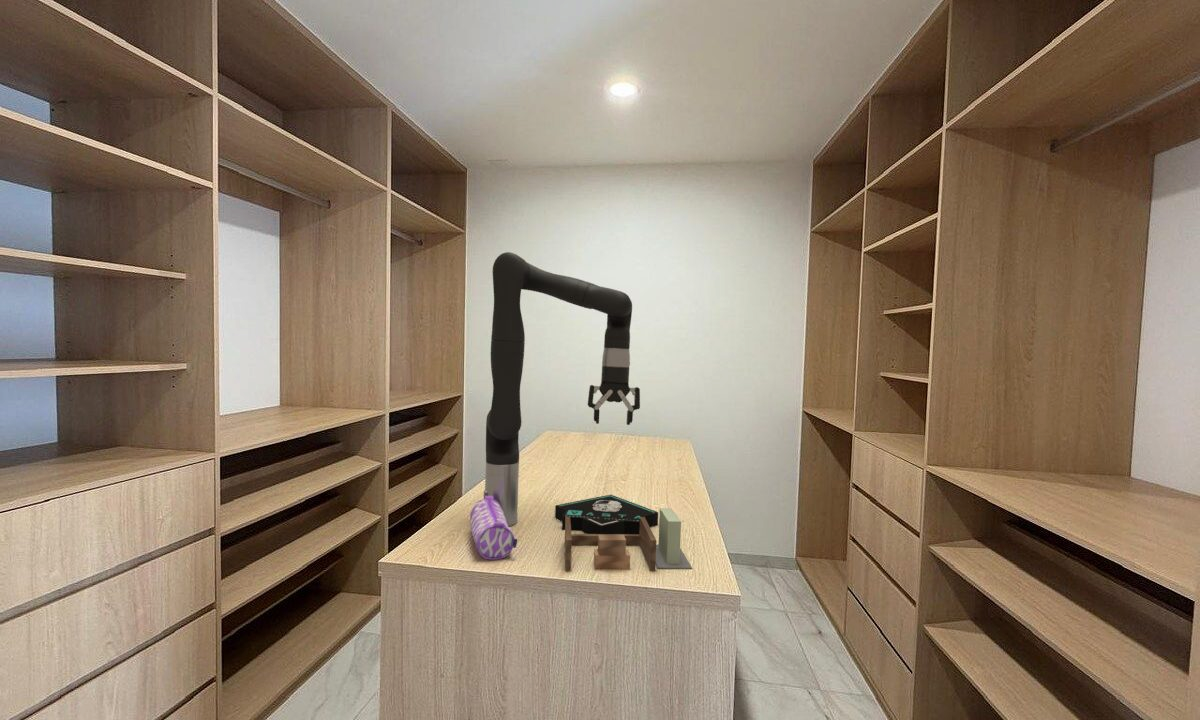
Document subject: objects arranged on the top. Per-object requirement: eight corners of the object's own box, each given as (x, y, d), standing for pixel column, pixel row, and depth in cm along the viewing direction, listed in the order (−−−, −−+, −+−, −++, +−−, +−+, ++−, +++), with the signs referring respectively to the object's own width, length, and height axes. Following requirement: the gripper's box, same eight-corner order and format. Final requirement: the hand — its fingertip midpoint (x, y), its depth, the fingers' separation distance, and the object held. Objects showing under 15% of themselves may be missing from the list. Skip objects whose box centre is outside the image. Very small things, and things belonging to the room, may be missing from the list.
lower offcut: (594, 570, 118) (595, 555, 118) (593, 564, 121) (594, 549, 121) (629, 570, 118) (630, 555, 118) (627, 564, 122) (628, 549, 122)
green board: (658, 547, 131) (659, 508, 131) (670, 547, 132) (671, 508, 131) (666, 563, 121) (668, 521, 121) (679, 563, 122) (681, 521, 121)
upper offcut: (599, 555, 118) (599, 540, 117) (597, 549, 121) (598, 534, 121) (625, 555, 118) (626, 540, 118) (623, 549, 122) (623, 534, 122)
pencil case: (517, 560, 122) (518, 520, 121) (476, 565, 118) (478, 524, 118) (500, 528, 142) (501, 494, 142) (465, 531, 139) (466, 496, 139)
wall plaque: (658, 545, 134) (657, 510, 164) (658, 530, 134) (657, 497, 164) (544, 537, 137) (563, 504, 167) (544, 522, 137) (564, 491, 167)
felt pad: (657, 568, 119) (657, 567, 119) (647, 545, 133) (647, 544, 133) (692, 568, 120) (692, 567, 120) (678, 545, 134) (678, 544, 134)
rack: (565, 570, 116) (566, 539, 116) (564, 543, 132) (565, 516, 132) (655, 570, 118) (656, 540, 118) (643, 544, 134) (644, 517, 134)
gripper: (639, 366, 147) (636, 423, 147) (589, 363, 146) (586, 421, 146) (643, 366, 139) (640, 427, 140) (590, 364, 138) (587, 424, 139)
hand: (612, 423), depth 143 cm, fingers open, 8 cm apart
